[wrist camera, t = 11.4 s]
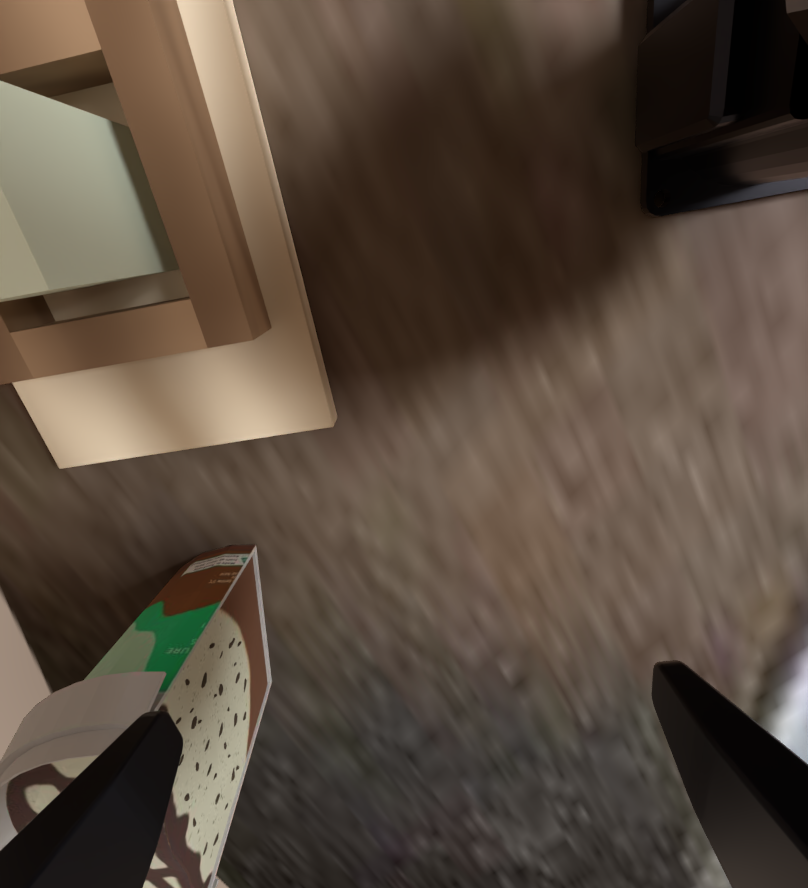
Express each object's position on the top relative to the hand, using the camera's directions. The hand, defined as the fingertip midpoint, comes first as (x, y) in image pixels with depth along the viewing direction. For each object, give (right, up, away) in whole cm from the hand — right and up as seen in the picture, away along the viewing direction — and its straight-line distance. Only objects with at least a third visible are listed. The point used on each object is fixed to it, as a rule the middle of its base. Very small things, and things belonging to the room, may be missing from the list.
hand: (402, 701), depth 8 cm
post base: (-10, +13, +7) cm, 17 cm away
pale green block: (-10, +12, +6) cm, 17 cm away
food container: (-10, -4, +15) cm, 19 cm away
